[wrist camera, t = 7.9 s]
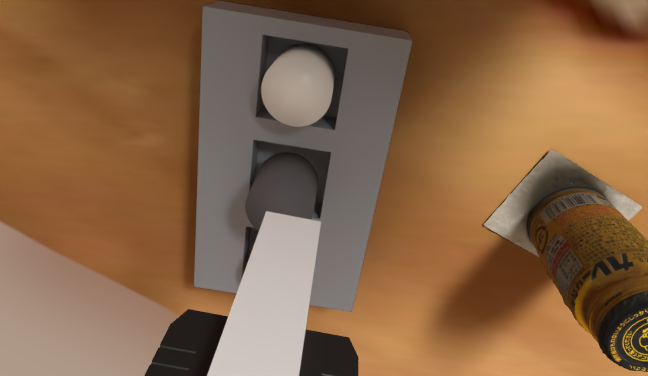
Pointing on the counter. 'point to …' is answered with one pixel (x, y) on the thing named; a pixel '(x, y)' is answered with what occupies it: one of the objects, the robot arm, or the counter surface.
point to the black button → (283, 188)
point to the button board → (292, 139)
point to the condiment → (585, 252)
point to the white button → (299, 85)
